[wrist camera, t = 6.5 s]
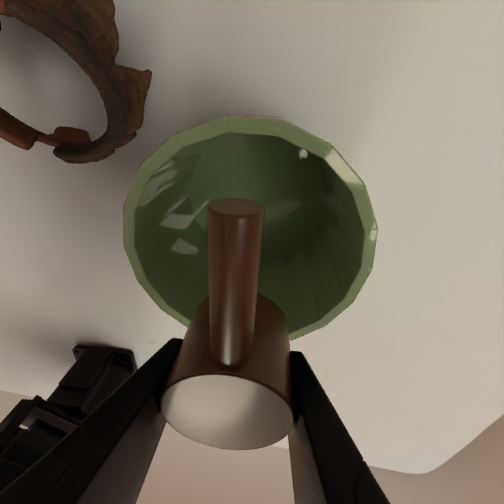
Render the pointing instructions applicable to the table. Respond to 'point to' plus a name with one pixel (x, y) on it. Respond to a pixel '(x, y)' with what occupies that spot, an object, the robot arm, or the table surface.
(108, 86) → the gnarled wooden root
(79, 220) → the table surface
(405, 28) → the table surface
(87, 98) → the table surface
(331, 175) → the green round container
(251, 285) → the scoop
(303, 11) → the table surface
